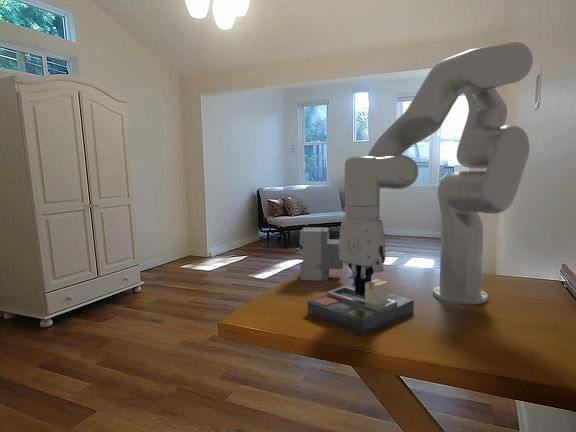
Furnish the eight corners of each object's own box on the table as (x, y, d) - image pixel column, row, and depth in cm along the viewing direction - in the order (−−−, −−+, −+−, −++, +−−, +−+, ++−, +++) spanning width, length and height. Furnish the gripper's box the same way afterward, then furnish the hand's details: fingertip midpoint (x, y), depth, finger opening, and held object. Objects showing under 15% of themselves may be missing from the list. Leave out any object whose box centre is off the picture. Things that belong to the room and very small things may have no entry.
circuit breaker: (347, 281, 108) (347, 231, 106) (300, 279, 110) (299, 231, 109) (348, 274, 115) (348, 227, 113) (304, 273, 118) (303, 227, 116)
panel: (358, 295, 95) (358, 280, 95) (413, 312, 83) (413, 295, 82) (307, 313, 84) (307, 297, 83) (363, 336, 71) (363, 317, 71)
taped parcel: (376, 300, 82) (376, 278, 81) (387, 304, 80) (387, 281, 79) (364, 305, 79) (364, 282, 79) (376, 308, 77) (376, 285, 76)
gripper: (326, 212, 84) (327, 289, 86) (379, 217, 72) (379, 306, 74) (347, 209, 88) (348, 282, 90) (401, 214, 77) (400, 297, 79)
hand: (362, 293), depth 82 cm, fingers closed
